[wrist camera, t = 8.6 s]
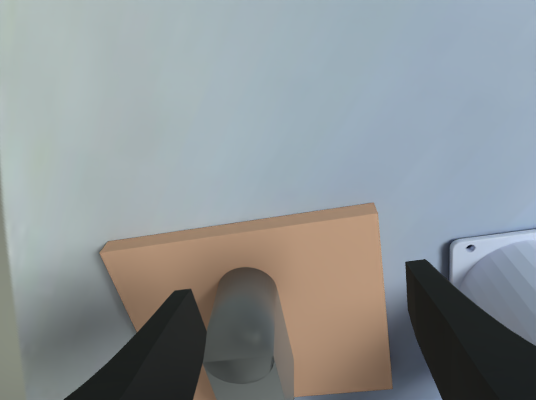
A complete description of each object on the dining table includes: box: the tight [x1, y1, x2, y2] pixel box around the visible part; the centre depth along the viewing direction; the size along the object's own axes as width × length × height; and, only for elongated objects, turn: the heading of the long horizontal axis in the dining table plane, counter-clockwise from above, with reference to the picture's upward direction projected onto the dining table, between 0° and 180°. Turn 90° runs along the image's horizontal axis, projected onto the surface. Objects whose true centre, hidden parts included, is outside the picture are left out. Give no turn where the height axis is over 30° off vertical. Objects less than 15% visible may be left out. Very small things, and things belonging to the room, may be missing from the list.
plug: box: [203, 267, 294, 400], centre depth 23 cm, size 4×11×5 cm, turn 11°
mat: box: [100, 203, 393, 400], centre depth 25 cm, size 16×14×1 cm
